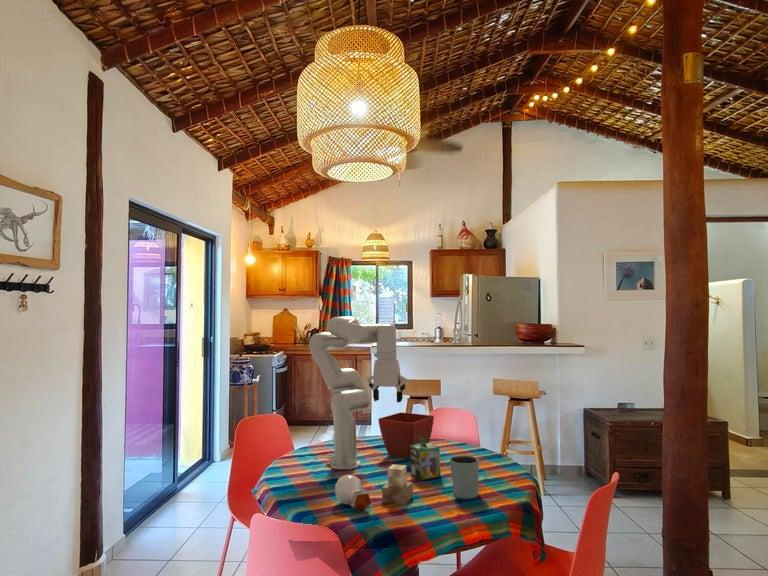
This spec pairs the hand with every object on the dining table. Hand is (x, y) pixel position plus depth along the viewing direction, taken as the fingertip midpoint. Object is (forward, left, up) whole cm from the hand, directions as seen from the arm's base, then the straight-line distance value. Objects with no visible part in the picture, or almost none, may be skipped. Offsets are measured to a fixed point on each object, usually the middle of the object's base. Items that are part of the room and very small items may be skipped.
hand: (387, 401), depth 187 cm
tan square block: (+10, -15, -31) cm, 35 cm away
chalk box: (+10, +12, -31) cm, 34 cm away
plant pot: (-8, +37, -31) cm, 49 cm away
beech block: (+10, -15, -26) cm, 31 cm away
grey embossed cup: (+30, -2, -31) cm, 43 cm away
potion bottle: (-1, -26, -31) cm, 40 cm away
